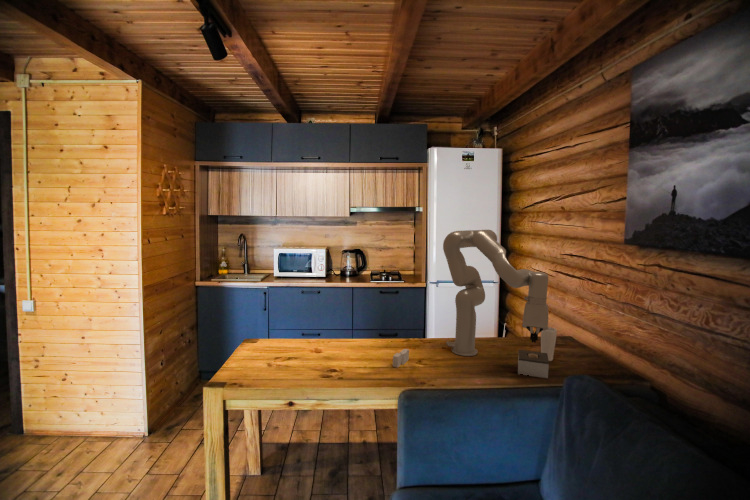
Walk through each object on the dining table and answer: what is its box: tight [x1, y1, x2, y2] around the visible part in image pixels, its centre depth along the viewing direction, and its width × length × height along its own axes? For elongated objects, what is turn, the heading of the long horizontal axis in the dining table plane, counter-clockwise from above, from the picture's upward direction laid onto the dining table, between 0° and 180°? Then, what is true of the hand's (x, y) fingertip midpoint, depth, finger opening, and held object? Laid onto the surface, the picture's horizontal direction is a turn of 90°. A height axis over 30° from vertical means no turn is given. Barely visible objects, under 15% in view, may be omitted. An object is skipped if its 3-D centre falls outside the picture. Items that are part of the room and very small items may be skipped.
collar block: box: [517, 349, 550, 379], centre depth 184 cm, size 12×12×7 cm
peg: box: [528, 354, 538, 358], centre depth 184 cm, size 4×4×6 cm
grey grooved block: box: [392, 348, 410, 369], centre depth 190 cm, size 15×11×6 cm
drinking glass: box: [540, 326, 558, 362], centre depth 198 cm, size 7×7×15 cm
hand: (533, 341), depth 183 cm, fingers closed
